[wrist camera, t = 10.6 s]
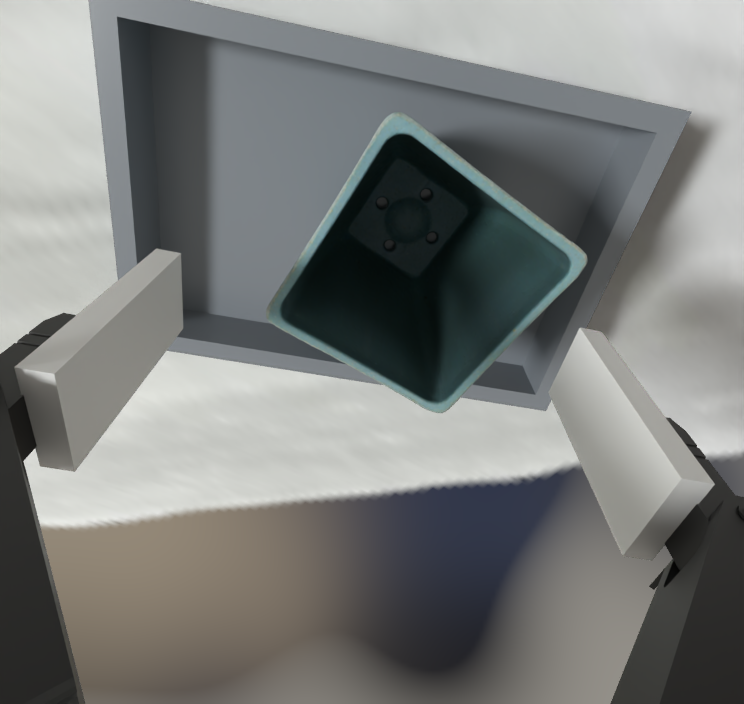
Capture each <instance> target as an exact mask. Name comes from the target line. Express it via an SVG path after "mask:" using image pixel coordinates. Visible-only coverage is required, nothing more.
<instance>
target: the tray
mask: <svg viewBox="0 0 744 704" xmlns="http://www.w3.org/2000/svg"><path fill="white" fill-rule="evenodd" d="M89 10H90V19H91V29H92V38H93V48H94V57H95V67H96V76H97V86H98V95H99V105H100V114H101V124H102V133H103V142H104V152H105V161H106V171H107V180H108V190H109V199H110V209H111V218H112V228H113V237H114V247H115V256H116V266H117V275H118V280H119V279H120V278H122V277H123V276H124V275H125V274H126V273H128V272H129V271H130V270H131V269H132V268H134V267H135V266H136V265H137V264H138V263H140V262H141V261H142V260H143V259H144V258H146V257H147V256H148V255H149V254H150V253H152V252H153V251H154V250H155V249H161V250H167V251H172V252H177V253H181V270H182V303H183V329H182V331H181V332H180V333H179V335H178V336H177V337H176V339H175V340H174V341H173V343H172V344H171V345H170V346H169V348H168V349H167V350H166V351H172V352H179V353H185V354H191V355H198V356H204V357H210V358H216V359H223V360H229V361H235V362H242V363H248V364H254V365H260V366H267V367H273V368H279V369H285V370H292V371H298V372H304V373H311V374H317V375H323V376H329V377H336V378H342V379H348V380H355V381H361V382H367V383H373V384H380V385H383V384H381V383H379V382H378V381H376V380H374V379H372V378H370V377H369V376H367V375H365V374H363V373H361V372H359V371H358V370H356V369H354V368H352V367H351V366H348V365H347V364H345V363H343V362H341V361H339V360H337V359H336V358H334V357H332V356H331V355H328V354H326V353H324V352H323V351H321V350H319V349H316V348H315V347H313V346H311V345H309V344H307V343H305V342H304V341H302V340H299V339H297V338H296V337H294V336H292V335H291V334H289V333H287V332H285V331H282V330H281V329H280V328H278V327H276V326H275V325H273V324H272V323H270V322H269V321H268V320H267V317H266V310H267V307H268V305H269V303H270V301H271V300H272V298H273V297H274V295H275V294H276V292H277V291H278V289H279V287H280V286H281V284H282V283H283V281H284V280H285V278H286V277H287V275H288V273H289V272H290V270H291V269H292V267H293V266H294V264H295V263H296V261H297V260H298V258H299V256H300V255H301V253H302V252H303V250H304V249H305V247H306V245H307V244H308V242H309V241H310V239H311V238H312V236H313V235H314V233H315V231H316V230H317V228H318V227H319V225H320V223H321V222H322V220H323V219H324V217H325V215H326V214H327V212H328V211H329V209H330V207H331V205H332V204H333V203H334V201H335V199H336V198H337V196H338V194H339V193H340V191H341V189H342V188H343V186H344V185H345V183H346V181H347V179H348V178H349V176H350V175H351V173H352V171H353V169H354V168H355V166H356V165H357V163H358V162H359V160H360V158H361V156H362V155H363V153H364V151H365V150H366V148H367V146H368V145H369V143H370V141H371V140H372V138H373V136H374V134H375V133H376V131H377V130H378V128H379V126H380V125H381V123H382V122H383V121H384V120H385V118H386V117H388V116H389V115H390V114H392V113H395V112H402V113H404V114H406V115H409V116H410V117H411V118H413V119H414V120H415V121H417V122H418V123H419V124H421V125H422V126H423V127H424V128H426V129H427V130H428V131H429V132H430V133H432V134H433V135H434V136H435V137H437V138H438V139H439V140H440V141H441V142H443V143H444V144H445V145H447V146H448V147H449V148H451V149H452V150H453V151H454V152H455V153H457V154H458V155H459V156H461V157H462V158H463V159H464V160H466V161H467V162H468V163H470V164H471V165H472V166H473V167H474V168H476V169H477V170H478V171H480V172H481V173H482V174H483V175H485V176H486V177H487V178H489V179H490V180H491V181H493V182H494V183H495V184H496V185H498V186H499V187H500V188H502V189H503V190H504V191H505V192H507V193H508V194H509V195H510V196H512V197H513V198H515V199H516V200H517V201H518V202H520V203H521V204H522V205H524V206H525V207H526V208H527V209H529V210H530V211H531V212H533V213H534V214H536V215H537V216H538V217H540V218H541V219H542V220H543V221H545V222H546V223H548V224H549V225H550V226H552V227H553V228H554V229H555V230H557V231H558V232H560V233H561V234H562V235H564V236H565V237H566V238H567V239H569V240H570V241H572V242H573V243H575V244H576V245H577V246H579V247H580V248H581V249H582V250H583V251H584V252H585V254H586V255H587V259H588V261H587V264H586V266H585V267H584V269H583V270H582V272H581V273H580V275H579V276H578V278H577V279H576V280H574V281H573V282H572V283H571V285H570V286H569V287H567V288H566V289H565V290H564V291H563V292H562V293H561V294H560V295H559V296H558V297H557V298H556V299H555V300H554V301H553V302H552V303H551V304H550V305H549V306H548V307H547V308H546V309H545V310H544V311H543V312H542V313H541V314H540V315H539V316H538V317H537V318H536V319H535V320H534V321H533V322H532V323H531V324H530V325H529V326H528V327H527V328H526V329H525V330H524V331H523V332H522V333H521V334H520V335H519V336H518V337H517V338H516V339H515V340H514V341H513V343H512V344H511V345H510V346H509V347H508V348H507V349H506V350H505V351H504V352H503V353H502V354H501V355H500V356H499V357H498V358H497V359H496V360H495V361H494V362H493V363H492V365H491V366H490V367H489V368H488V369H486V371H485V372H484V373H483V374H482V375H481V376H480V377H479V378H478V379H477V380H476V381H475V382H474V384H473V385H471V387H470V388H469V389H468V390H467V391H466V392H465V393H464V394H463V395H462V396H461V398H468V399H474V400H480V401H486V402H493V403H499V404H505V405H511V406H518V407H524V408H530V409H537V410H543V411H546V410H547V408H548V406H549V404H550V402H551V397H550V395H549V393H548V392H549V390H550V388H551V386H552V384H553V382H554V380H555V378H556V376H557V374H558V372H559V370H560V368H561V365H562V363H563V361H564V359H565V357H566V355H567V353H568V351H569V349H570V347H571V345H572V343H573V341H574V338H575V336H576V334H577V332H578V330H579V328H585V329H586V328H587V326H588V324H589V322H590V319H591V317H592V315H593V313H594V311H595V309H596V307H597V305H598V303H599V301H600V299H601V297H602V295H603V293H604V291H605V289H606V287H607V285H608V283H609V280H610V278H611V276H612V274H613V272H614V270H615V268H616V266H617V264H618V262H619V260H620V258H621V256H622V254H623V252H624V250H625V248H626V246H627V244H628V242H629V239H630V237H631V235H632V233H633V231H634V229H635V227H636V225H637V223H638V221H639V219H640V217H641V215H642V213H643V211H644V209H645V207H646V205H647V203H648V200H649V198H650V196H651V194H652V192H653V190H654V188H655V186H656V184H657V182H658V180H659V178H660V176H661V174H662V172H663V170H664V168H665V166H666V164H667V162H668V159H669V157H670V155H671V153H672V151H673V149H674V147H675V145H676V143H677V141H678V139H679V137H680V135H681V133H682V131H683V129H684V127H685V125H686V123H687V121H688V118H689V116H690V114H691V111H686V110H681V109H677V108H672V107H668V106H663V105H659V104H654V103H650V102H645V101H641V100H636V99H632V98H627V97H623V96H618V95H614V94H609V93H605V92H600V91H596V90H591V89H587V88H582V87H578V86H573V85H569V84H564V83H560V82H555V81H551V80H546V79H541V78H537V77H532V76H528V75H523V74H519V73H514V72H510V71H505V70H501V69H496V68H492V67H487V66H483V65H478V64H474V63H469V62H465V61H460V60H456V59H451V58H447V57H442V56H438V55H433V54H429V53H424V52H420V51H415V50H410V49H406V48H401V47H397V46H392V45H388V44H383V43H379V42H374V41H370V40H365V39H361V38H356V37H352V36H347V35H343V34H338V33H334V32H329V31H325V30H320V29H316V28H311V27H307V26H302V25H298V24H293V23H289V22H284V21H280V20H275V19H270V18H266V17H261V16H257V15H252V14H248V13H243V12H239V11H234V10H230V9H225V8H221V7H216V6H212V5H207V4H203V3H198V2H194V1H189V0H89ZM430 196H431V192H430V191H429V190H428V189H424V190H422V192H421V197H422V198H423V199H428V198H429V197H430ZM377 205H378V207H380V208H383V207H385V206H386V205H387V201H386V199H385V198H383V197H381V198H379V199H378V200H377ZM435 239H436V234H435V233H429V234H428V235H427V240H428V241H430V242H432V241H434V240H435ZM385 247H386V248H387V249H392V248H393V247H394V242H393V241H392V240H388V241H386V242H385Z"/></svg>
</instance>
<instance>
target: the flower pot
mask: <svg viewBox="0 0 744 704" xmlns="http://www.w3.org/2000/svg"><path fill="white" fill-rule="evenodd" d="M424 189H428V190H429V191H430V192H431V196H430V197H429V198H428V199H423V198H422V197H421V192H422V190H424ZM381 197H383V198H385V199H386V201H387V205H386V206H385V207H383V208H380V207H378V205H377V200H378V199H379V198H381ZM429 233H435V234H436V239H435V240H434V241H432V242H430V241H428V240H427V235H428V234H429ZM388 240H392V241H393V242H394V247H393V248H392V249H387V248H386V247H385V242H386V241H388ZM587 261H588V259H587V255H586V254H585V252H584V251H583V250H582V249H581V248H580V247H579V246H577V245H576V244H575V243H573V242H572V241H570V240H569V239H567V238H566V237H565V236H564V235H562V234H561V233H560V232H558V231H557V230H555V229H554V228H553V227H552V226H550V225H549V224H548V223H546V222H545V221H543V220H542V219H541V218H540V217H538V216H537V215H536V214H534V213H533V212H531V211H530V210H529V209H527V208H526V207H525V206H524V205H522V204H521V203H520V202H518V201H517V200H516V199H515V198H513V197H512V196H510V195H509V194H508V193H507V192H505V191H504V190H503V189H502V188H500V187H499V186H498V185H496V184H495V183H494V182H493V181H491V180H490V179H489V178H487V177H486V176H485V175H483V174H482V173H481V172H480V171H478V170H477V169H476V168H474V167H473V166H472V165H471V164H470V163H468V162H467V161H466V160H464V159H463V158H462V157H461V156H459V155H458V154H457V153H455V152H454V151H453V150H452V149H451V148H449V147H448V146H447V145H445V144H444V143H443V142H441V141H440V140H439V139H438V138H437V137H435V136H434V135H433V134H432V133H430V132H429V131H428V130H427V129H426V128H424V127H423V126H422V125H421V124H419V123H418V122H417V121H415V120H414V119H413V118H411V117H410V116H409V115H406V114H404V113H402V112H395V113H392V114H390V115H389V116H388V117H386V118H385V120H384V121H383V122H382V123H381V125H380V126H379V128H378V130H377V131H376V133H375V134H374V136H373V138H372V140H371V141H370V143H369V145H368V146H367V148H366V150H365V151H364V153H363V155H362V156H361V158H360V160H359V162H358V163H357V165H356V166H355V168H354V169H353V171H352V173H351V175H350V176H349V178H348V179H347V181H346V183H345V185H344V186H343V188H342V189H341V191H340V193H339V194H338V196H337V198H336V199H335V201H334V203H333V204H332V205H331V207H330V209H329V211H328V212H327V214H326V215H325V217H324V219H323V220H322V222H321V223H320V225H319V227H318V228H317V230H316V231H315V233H314V235H313V236H312V238H311V239H310V241H309V242H308V244H307V245H306V247H305V249H304V250H303V252H302V253H301V255H300V256H299V258H298V260H297V261H296V263H295V264H294V266H293V267H292V269H291V270H290V272H289V273H288V275H287V277H286V278H285V280H284V281H283V283H282V284H281V286H280V287H279V289H278V291H277V292H276V294H275V295H274V297H273V298H272V300H271V301H270V303H269V305H268V307H267V310H266V317H267V320H268V321H269V322H270V323H272V324H273V325H275V326H276V327H278V328H280V329H281V330H282V331H285V332H287V333H289V334H291V335H292V336H294V337H296V338H297V339H299V340H302V341H304V342H305V343H307V344H309V345H311V346H313V347H315V348H316V349H319V350H321V351H323V352H324V353H326V354H328V355H331V356H332V357H334V358H336V359H337V360H339V361H341V362H343V363H345V364H347V365H348V366H351V367H352V368H354V369H356V370H358V371H359V372H361V373H363V374H365V375H367V376H369V377H370V378H372V379H374V380H376V381H378V382H379V383H381V384H383V385H385V386H387V387H388V388H390V389H392V390H394V391H395V392H397V393H399V394H401V395H402V396H404V397H406V398H408V399H409V400H411V401H413V402H414V403H416V404H418V405H419V406H421V407H422V408H424V409H427V410H429V411H432V412H436V413H443V412H445V411H447V410H448V409H449V408H450V407H451V406H452V405H454V403H455V402H456V401H458V400H459V398H460V397H461V396H462V395H463V394H464V393H465V392H466V391H467V390H468V389H469V388H470V387H471V385H473V384H474V382H475V381H476V380H477V379H478V378H479V377H480V376H481V375H482V374H483V373H484V372H485V371H486V369H488V368H489V367H490V366H491V365H492V363H493V362H494V361H495V360H496V359H497V358H498V357H499V356H500V355H501V354H502V353H503V352H504V351H505V350H506V349H507V348H508V347H509V346H510V345H511V344H512V343H513V341H514V340H515V339H516V338H517V337H518V336H519V335H520V334H521V333H522V332H523V331H524V330H525V329H526V328H527V327H528V326H529V325H530V324H531V323H532V322H533V321H534V320H535V319H536V318H537V317H538V316H539V315H540V314H541V313H542V312H543V311H544V310H545V309H546V308H547V307H548V306H549V305H550V304H551V303H552V302H553V301H554V300H555V299H556V298H557V297H558V296H559V295H560V294H561V293H562V292H563V291H564V290H565V289H566V288H567V287H569V286H570V285H571V283H572V282H573V281H574V280H576V279H577V278H578V276H579V275H580V273H581V272H582V270H583V269H584V267H585V266H586V264H587Z"/></svg>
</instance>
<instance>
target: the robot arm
mask: <svg viewBox="0 0 744 704" xmlns="http://www.w3.org/2000/svg"><path fill="white" fill-rule="evenodd" d="M182 329H183V303H182V270H181V253H177V252H172V251H167V250H161V249H155V250H154V251H153V252H152V253H150V254H149V255H148V256H147V257H146V258H144V259H143V260H142V261H141V262H140V263H138V264H137V265H136V266H135V267H134V268H132V269H131V270H130V271H129V272H128V273H126V274H125V275H124V276H123V277H122V278H120V279H119V280H118V281H117V282H116V283H114V284H113V285H112V286H111V287H110V288H108V289H107V290H106V291H105V292H104V293H103V294H101V295H100V296H99V297H98V298H97V299H95V300H94V301H93V302H92V303H91V304H89V305H88V306H87V307H86V308H85V309H83V310H82V311H81V312H80V313H79V314H77V315H72V314H66V313H63V314H60V315H58V316H55V317H52V318H50V319H47V320H45V321H43V322H41V323H40V324H39V325H38V326H36V327H35V328H34V329H32V330H31V331H30V332H29V335H28V334H26V335H25V336H23V337H22V338H21V339H19V340H18V343H14V344H13V345H12V346H10V347H9V348H8V349H7V350H5V351H4V352H3V353H1V354H0V704H85V701H84V696H83V692H82V689H81V685H80V681H79V677H78V673H77V669H76V665H75V661H74V657H73V654H72V649H71V645H70V641H69V638H68V634H67V630H66V626H65V622H64V618H63V614H62V610H61V606H60V602H59V599H58V594H57V591H56V587H55V583H54V579H53V575H52V571H51V567H50V563H49V559H48V555H47V551H46V548H45V544H44V540H43V536H42V532H41V528H40V524H39V520H38V516H37V512H36V508H35V504H34V500H33V497H32V493H31V489H30V485H29V481H28V477H27V473H26V469H25V466H24V462H23V461H24V460H25V459H26V457H27V456H28V455H29V454H30V453H31V452H32V451H33V450H34V449H35V448H36V452H37V456H38V460H39V464H40V466H42V467H48V468H55V469H61V470H68V471H74V472H75V471H76V469H77V468H78V467H79V465H80V464H81V463H82V462H83V460H84V459H85V458H86V456H87V455H88V454H89V452H90V451H91V450H92V448H93V447H94V446H95V444H96V443H97V442H98V440H99V439H100V438H101V436H102V435H103V434H104V432H105V431H106V430H107V428H108V427H109V426H110V424H111V423H112V422H113V421H114V419H115V418H116V417H117V415H118V414H119V413H120V411H121V410H122V409H123V407H124V406H125V405H126V403H127V402H128V401H129V399H130V398H131V397H132V395H133V394H134V393H135V391H136V390H137V389H138V387H139V386H140V385H141V383H142V382H143V381H144V380H145V378H146V377H147V376H148V374H149V373H150V372H151V370H152V369H153V368H154V366H155V365H156V364H157V362H158V361H159V360H160V358H161V357H162V356H163V354H164V353H165V352H166V350H167V349H168V348H169V346H170V345H171V344H172V343H173V341H174V340H175V339H176V337H177V336H178V335H179V333H180V332H181V331H182ZM548 393H549V395H550V397H551V399H552V402H553V404H554V406H555V408H556V410H557V413H558V415H559V417H560V419H561V421H562V424H563V426H564V428H565V430H566V432H567V435H568V437H569V439H570V441H571V443H572V446H573V448H574V450H575V452H576V454H577V457H578V459H579V461H580V463H581V465H582V468H583V470H584V472H585V474H586V476H587V479H588V481H589V483H590V485H591V487H592V490H593V491H594V494H595V496H596V499H597V501H598V503H599V505H600V507H601V509H602V512H603V514H604V516H605V518H606V521H607V523H608V525H609V527H610V529H611V531H612V534H613V536H614V538H615V540H616V543H617V545H618V547H619V549H620V551H621V554H622V556H626V557H632V558H639V559H646V560H653V559H654V558H655V556H656V555H657V554H658V553H659V552H660V550H661V549H662V548H663V546H665V545H666V547H667V549H668V550H669V552H670V554H671V556H672V558H673V560H672V561H671V562H670V563H669V564H668V565H667V567H666V568H665V569H664V570H663V571H662V572H661V573H660V575H659V576H658V577H657V578H656V579H655V581H654V582H653V583H652V584H651V585H650V586H649V587H651V588H652V589H655V588H656V587H657V586H658V587H657V589H656V592H655V594H654V597H653V599H652V602H651V604H650V607H649V609H648V612H647V614H646V617H645V619H644V622H643V624H642V627H641V629H640V632H639V634H638V636H637V639H636V642H635V644H634V646H633V649H632V651H631V654H630V656H629V659H628V662H627V664H626V666H625V669H624V671H623V674H622V677H621V679H620V681H619V684H618V686H617V689H616V691H615V694H614V696H613V699H612V701H611V704H744V497H740V496H735V494H734V493H733V492H732V490H731V489H730V488H729V487H728V485H727V484H726V483H725V481H724V480H723V479H722V477H721V476H720V475H719V474H718V472H717V471H716V470H715V468H714V467H713V466H712V464H711V463H710V462H709V461H708V460H706V459H705V455H704V454H703V453H702V451H701V450H700V449H699V448H697V445H696V444H695V442H694V441H693V440H692V438H691V437H690V436H689V434H688V433H687V432H686V431H685V430H684V429H683V428H681V427H680V426H679V425H678V424H676V423H675V422H674V421H673V420H672V419H670V418H666V417H665V416H664V415H663V413H662V412H661V411H660V409H659V408H658V407H657V405H656V404H655V403H654V401H653V400H652V399H651V397H650V396H649V395H648V393H647V392H646V391H645V389H644V388H643V387H642V385H641V384H640V382H639V381H638V380H637V378H636V377H635V376H634V374H633V373H632V372H631V370H630V369H629V368H628V366H627V365H626V364H625V362H624V361H623V360H622V358H621V357H620V356H619V354H618V353H617V351H616V350H615V349H614V347H613V346H612V345H611V343H610V342H609V341H608V339H607V338H606V337H605V335H604V334H603V333H602V332H601V331H596V330H591V329H585V328H579V330H578V332H577V334H576V336H575V338H574V341H573V343H572V345H571V347H570V349H569V351H568V353H567V355H566V357H565V359H564V361H563V363H562V365H561V368H560V370H559V372H558V374H557V376H556V378H555V380H554V382H553V384H552V386H551V388H550V390H549V392H548Z"/></svg>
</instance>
